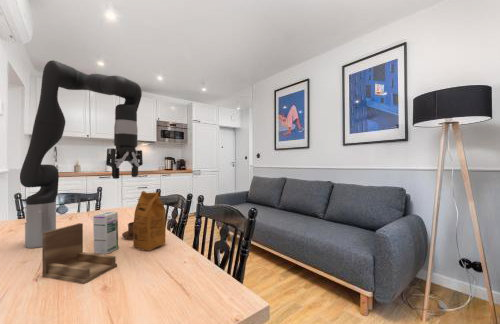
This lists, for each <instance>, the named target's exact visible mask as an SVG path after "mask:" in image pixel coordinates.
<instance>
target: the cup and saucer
mask: <svg viewBox="0 0 500 324" xmlns="http://www.w3.org/2000/svg"><path fill="white" fill-rule="evenodd" d="M133 224H134V221H132V222H129V223H128V224H127V228H128V229H127V230H126V231H124V232H123V233H122V234H121V235H122V237H124V239H129V240H131V239H132V240H133Z"/></svg>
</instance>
